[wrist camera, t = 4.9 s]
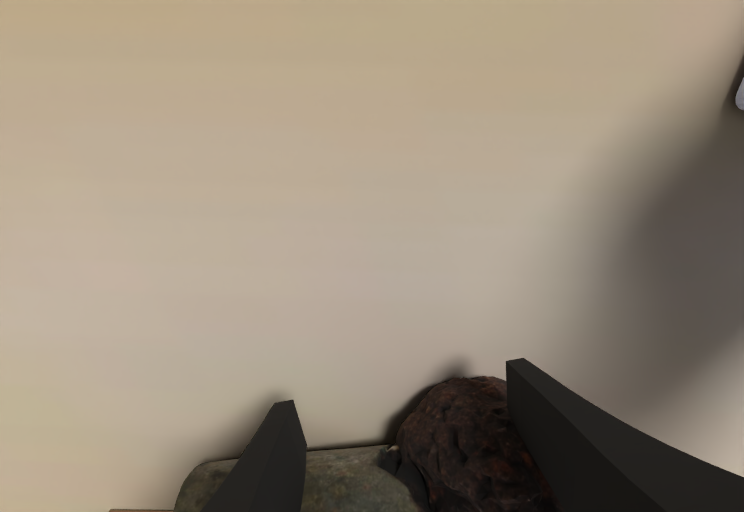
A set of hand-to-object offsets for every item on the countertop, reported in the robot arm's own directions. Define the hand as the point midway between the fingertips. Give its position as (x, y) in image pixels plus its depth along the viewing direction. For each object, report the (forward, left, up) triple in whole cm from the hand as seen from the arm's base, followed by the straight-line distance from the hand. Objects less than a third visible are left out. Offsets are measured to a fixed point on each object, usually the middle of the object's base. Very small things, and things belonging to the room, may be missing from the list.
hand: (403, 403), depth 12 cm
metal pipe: (+4, +1, -3) cm, 6 cm away
